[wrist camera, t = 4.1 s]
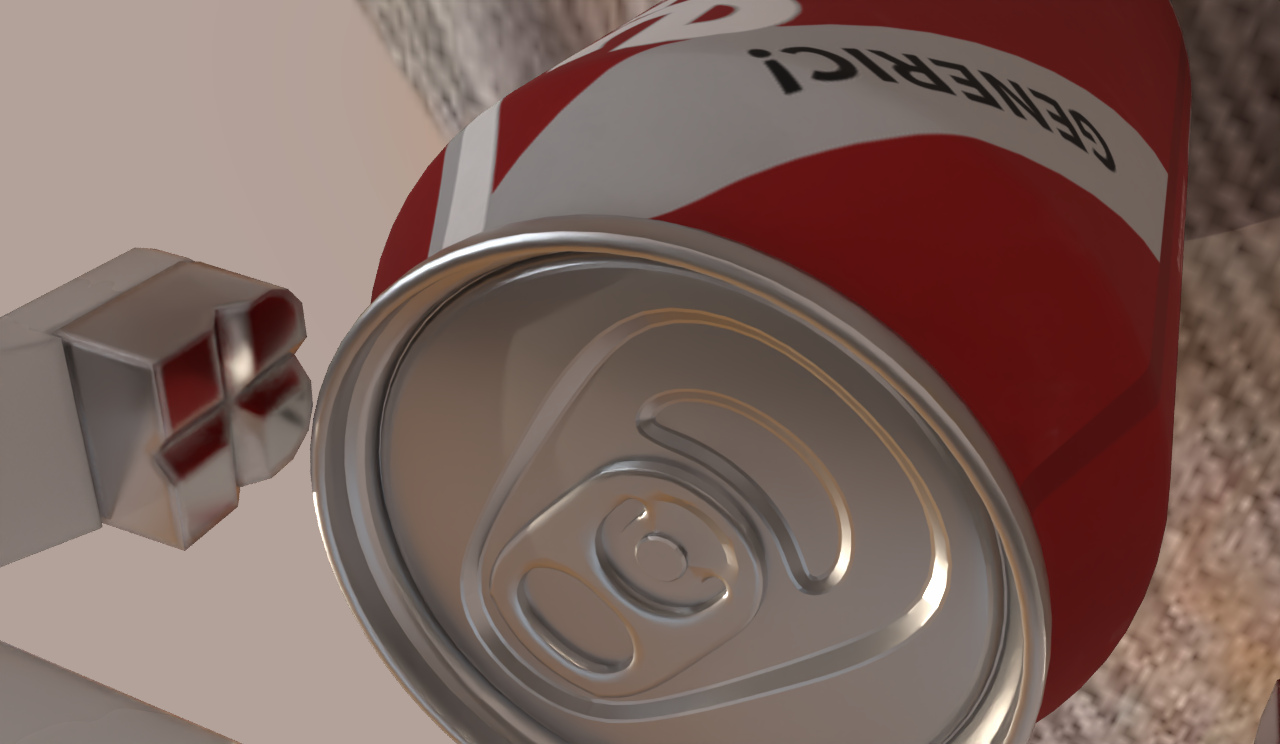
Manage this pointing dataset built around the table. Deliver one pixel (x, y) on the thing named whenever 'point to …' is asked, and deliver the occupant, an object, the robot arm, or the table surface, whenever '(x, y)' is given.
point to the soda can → (775, 378)
